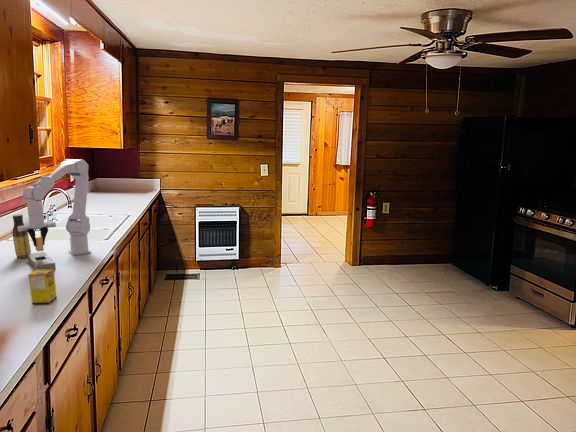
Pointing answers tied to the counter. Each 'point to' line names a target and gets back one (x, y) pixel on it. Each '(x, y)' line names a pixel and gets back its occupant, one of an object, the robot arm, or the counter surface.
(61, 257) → the counter surface
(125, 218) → the counter surface
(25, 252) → the sauce bottle
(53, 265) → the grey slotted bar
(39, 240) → the tan wooden block
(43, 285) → the supplement box
